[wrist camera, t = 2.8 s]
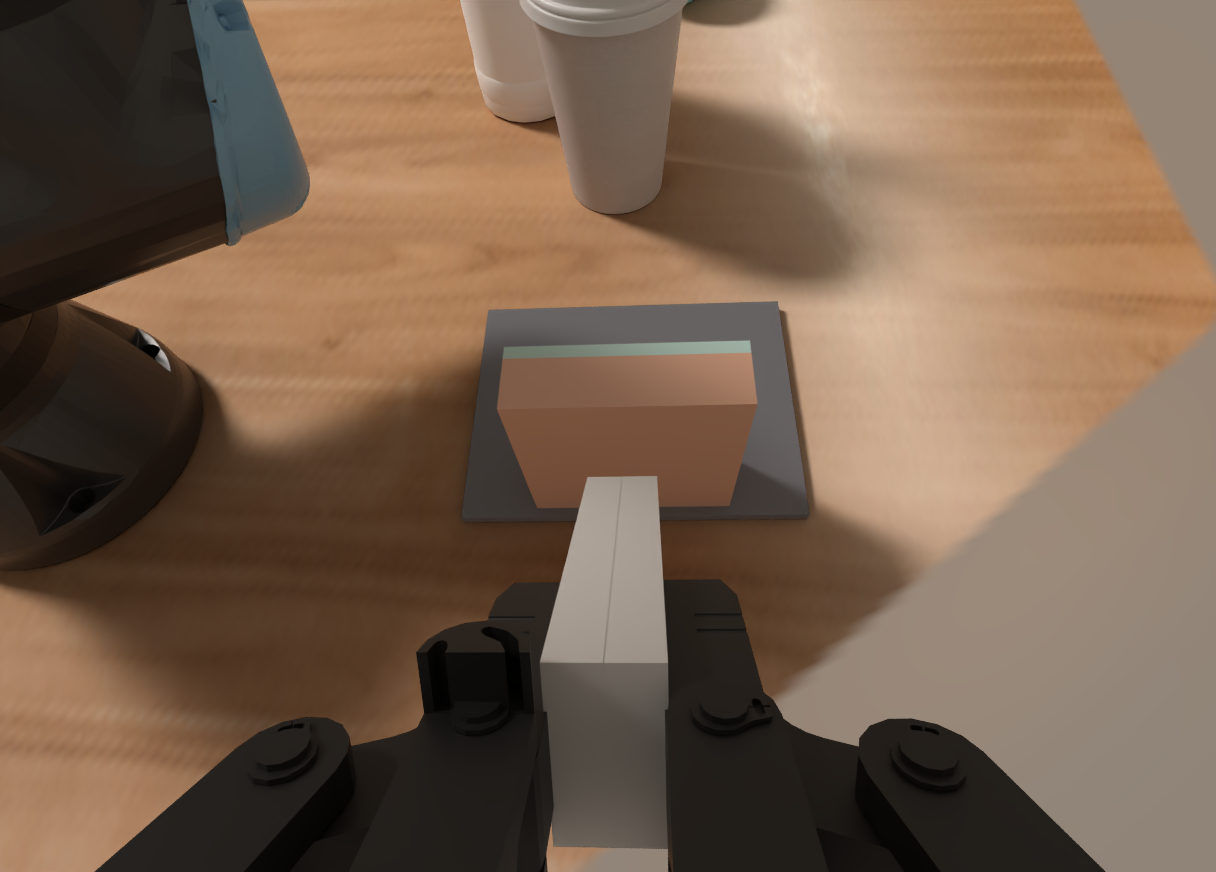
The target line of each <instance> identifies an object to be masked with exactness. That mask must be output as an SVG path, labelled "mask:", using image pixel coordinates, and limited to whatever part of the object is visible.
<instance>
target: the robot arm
mask: <svg viewBox="0 0 1216 872" xmlns="http://www.w3.org/2000/svg"><path fill="white" fill-rule="evenodd" d="M309 187H310V178H309V173H308V170H307V166H306V163H305V161H304V158H303V155H302V153H301V150H300V147H299V145H298V142H297V139H296V137H295V134H294V132H293V129H292V126H291V124H290V121H289V118H288V116H287V113H286V111H285V108H284V105H283V103H282V100H281V98H280V95H279V93H278V90H277V88H276V85H275V82H274V80H273V77H272V75H271V72H270V69H269V67H268V64H267V62H266V59H265V57H264V54H263V52H262V49H261V47H260V44H259V42H258V39H257V37H256V34H255V32H254V29H253V27H252V24H251V22H250V19H249V15H248V13H247V10H246V8H245V5H244V3H243V0H0V569H1V570H26V569H34V568H40V567H45V566H49V565H53V564H57V563H60V562H63V561H66V560H69V559H72V558H74V557H77V556H79V555H82V554H84V553H86V552H88V551H90V550H92V549H94V548H96V547H98V546H100V545H102V544H104V543H105V542H107V541H109V540H111V539H112V538H114V537H115V536H117V535H118V534H120V533H121V532H123V531H124V530H125V529H127V528H128V527H130V526H131V525H132V524H133V523H135V522H136V521H137V520H138V519H140V518H141V517H142V516H143V515H144V514H145V513H146V512H148V511H149V510H150V509H151V508H152V507H153V506H154V505H155V504H156V503H157V502H158V501H159V500H160V498H161V497H162V496H163V495H164V494H165V493H166V492H167V490H168V489H169V488H170V487H171V485H172V484H173V483H174V481H175V480H176V479H177V477H178V476H179V474H180V473H181V471H182V470H183V468H184V466H185V465H186V463H187V461H188V459H189V457H190V455H191V453H192V451H193V448H194V446H195V443H196V441H197V437H198V434H199V430H200V426H201V420H202V397H201V392H200V388H199V385H198V382H197V380H196V378H195V376H194V375H193V373H192V371H191V370H190V369H189V367H188V366H187V365H186V364H185V363H184V362H183V361H182V360H181V359H180V358H179V357H177V356H176V355H175V354H174V353H173V352H172V351H171V350H170V349H169V348H168V347H166V346H165V345H164V344H163V343H162V342H161V341H159V340H158V339H156V338H155V337H153V336H152V335H150V334H149V333H147V332H145V331H143V330H141V329H139V328H137V327H134V326H132V325H129V324H127V323H125V322H122V321H120V320H118V319H115V318H113V317H111V316H108V315H106V314H104V313H101V312H99V311H97V310H94V309H92V308H90V307H87V306H85V305H83V304H80V303H78V302H75V301H73V300H71V299H72V298H75V297H78V296H81V295H83V294H86V293H89V292H92V291H94V290H97V289H100V288H103V287H106V286H108V285H111V284H114V283H117V282H119V281H122V280H125V279H128V278H130V277H133V276H136V275H139V274H141V273H144V272H147V271H150V270H153V269H155V268H158V267H161V266H164V265H166V264H169V263H172V262H175V261H177V260H180V259H183V258H186V257H188V256H191V255H194V254H197V253H200V252H202V251H205V250H208V249H211V248H213V247H216V246H219V245H222V244H224V243H225V244H226V245H228V246H233V245H235V244H237V243H238V242H239V241H240V240H241V237H242V236H244V235H247V234H249V233H251V232H254V231H256V230H259V229H261V228H263V227H266V226H268V225H271V224H273V223H275V222H278V221H280V220H283V219H285V218H287V217H289V216H291V215H293V214H294V213H296V212H297V211H298V210H299V209H300V208H301V207H302V206H303V204H304V202H305V200H306V198H307V196H308V194H309ZM416 655H417V662H418V670H419V677H420V685H421V692H422V700H423V707H424V715H423V717H422V719H421V721H420V723H419V725H418V727H417V728H416V729H413V730H411V731H409V732H406V733H403V734H400V735H397V736H393V737H390V738H385V739H381V740H377V741H372V742H368V743H363V744H359V745H355V746H351V743H350V737H349V735H348V733H347V732H346V730H345V729H344V727H343V725H342V724H340V723H337V722H335V721H333V720H331V719H328V718H316V717H305V718H300V719H295V720H291V721H286V722H282V723H280V724H277V725H275V726H273V727H271V728H268V729H266V730H264V731H261V732H259V733H257V734H256V735H255V736H253V737H252V738H250V739H249V740H247V741H246V742H244V743H243V744H242V745H240V746H239V747H237V748H236V749H235V750H234V751H233V752H231V753H230V754H229V755H228V756H227V757H226V758H225V759H223V760H222V761H221V762H220V763H219V764H218V765H217V766H215V767H214V768H213V769H212V770H211V771H210V772H208V773H207V774H206V775H205V776H204V777H203V778H202V779H200V780H199V781H198V782H197V783H196V784H195V785H194V786H192V787H191V788H190V789H189V790H188V791H187V792H186V793H184V794H183V795H182V796H181V797H180V798H179V799H177V800H176V801H175V802H174V803H173V804H172V805H171V806H169V807H168V808H167V809H166V810H165V811H164V812H163V813H161V814H160V815H159V816H158V817H157V818H156V819H155V820H153V821H152V822H151V823H150V824H149V825H148V826H146V827H145V828H144V829H143V830H142V831H141V832H140V833H138V834H137V835H136V836H135V837H134V838H133V839H132V840H130V841H129V842H128V843H127V844H126V845H125V846H124V847H122V848H121V849H120V850H119V851H118V852H117V853H115V854H114V855H113V856H112V857H111V858H110V859H109V860H107V861H106V862H105V863H104V864H103V865H102V866H101V867H99V868H98V869H97V870H96V871H95V872H547V859H546V851H547V845H548V839H549V833H550V827H551V821H552V835H553V847H600V848H650V849H651V848H652V849H668V872H1105V871H1104V870H1103V869H1102V868H1101V867H1100V866H1099V865H1098V864H1097V863H1096V862H1095V861H1094V860H1093V859H1092V858H1091V857H1090V856H1089V855H1088V854H1087V853H1086V852H1085V851H1084V850H1083V849H1082V848H1081V847H1080V846H1079V845H1078V844H1077V843H1076V842H1075V841H1074V840H1072V838H1071V837H1070V836H1069V835H1068V834H1067V833H1065V832H1064V830H1063V829H1061V828H1060V826H1059V825H1057V824H1056V823H1055V822H1054V821H1053V820H1052V819H1051V818H1050V817H1049V816H1048V815H1047V814H1046V813H1045V812H1044V811H1043V810H1042V809H1041V808H1040V807H1039V806H1038V805H1037V804H1036V803H1035V802H1034V801H1033V800H1032V799H1031V798H1030V797H1029V796H1028V795H1027V794H1026V793H1025V792H1024V791H1023V790H1022V789H1021V788H1020V787H1019V786H1018V785H1017V784H1016V783H1014V781H1013V780H1012V779H1011V778H1010V777H1009V776H1007V774H1006V773H1005V772H1004V771H1003V770H1001V769H1000V768H999V767H998V766H997V765H996V764H995V763H994V762H993V761H992V760H991V759H990V758H989V757H988V756H987V755H986V754H985V753H984V752H983V751H982V750H980V749H979V748H978V747H976V746H975V745H974V744H972V743H971V742H970V741H968V740H967V739H966V738H964V737H963V736H962V735H959V734H957V733H955V732H953V731H951V730H948V729H946V728H944V727H942V726H940V725H938V724H933V723H929V722H925V721H920V720H915V719H887V720H884V721H881V722H879V723H876V724H874V725H870V726H869V727H868V729H867V730H866V731H865V732H864V733H863V734H862V736H861V737H860V738H859V747H858V746H854V745H850V744H846V743H841V742H837V741H833V740H829V739H825V738H822V737H819V736H816V735H813V734H810V733H807V732H805V731H803V730H801V729H799V728H797V727H795V726H793V725H791V724H790V723H789V722H787V721H786V720H784V719H783V716H782V714H781V712H780V710H779V709H778V707H777V705H776V704H775V702H774V700H773V699H771V698H770V697H769V696H767V695H766V694H765V693H764V692H763V688H762V685H761V681H760V677H759V674H758V670H757V666H756V663H755V659H754V655H753V652H752V648H751V645H750V641H749V637H748V634H747V633H746V626H745V623H744V619H743V617H742V612H741V608H740V604H739V601H738V597H737V595H736V594H735V593H734V592H733V591H732V590H731V589H730V588H729V587H728V586H727V585H726V584H724V583H723V582H722V581H721V580H663V570H662V553H661V536H660V519H659V502H658V485H657V476H623V477H587V481H586V485H585V489H584V493H583V496H582V500H581V504H580V508H579V512H578V516H577V520H576V524H575V528H574V531H573V535H572V539H571V543H570V547H569V551H568V555H567V559H566V563H565V566H564V570H563V574H562V578H561V582H560V583H514V584H513V585H512V586H511V587H509V588H508V589H507V590H506V591H505V592H503V593H502V594H501V595H500V596H499V597H497V598H496V600H495V603H494V605H493V607H492V610H491V612H490V614H489V620H487V621H480V622H471V623H464V624H461V625H458V626H455V627H451V628H448V629H445V630H443V631H442V632H440V633H438V634H437V635H435V636H433V637H431V638H430V639H428V640H427V641H426V642H425V643H424V644H423V645H422V647H421V648H420V649H419V650H418V651H417V652H416Z"/></svg>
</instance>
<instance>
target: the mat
mask: <svg viewBox="0 0 1216 872" xmlns="http://www.w3.org/2000/svg"><path fill="white" fill-rule="evenodd" d="M711 341H750V345H751V353H752V362H753V370H754V379H755V387H756V396H757V408H756V411H755V415H754V418H753V422H752V426H751V429H750V433H749V437H748V440H747V444H746V448H745V451H744V455H743V458H742V462H741V466H740V469H739V473H738V477H737V480H736V484H735V488H734V491H733V495H732V498H731V502H730V506H697V507H659V519H660V520H731V519H807V518H808V516H809V507H808V501H807V494H806V487H805V481H804V474H803V467H802V460H801V454H800V447H799V440H798V434H797V427H796V420H795V414H794V407H793V400H792V394H791V387H790V380H789V374H788V367H787V360H786V353H785V347H784V340H783V333H782V327H781V320H780V313H779V307H778V301H775V302H741V303H707V304H673V305H639V306H605V307H572V308H538V309H504V310H488V318H487V325H486V333H485V340H484V348H483V355H482V363H481V370H480V378H479V386H478V393H477V401H476V408H475V416H474V423H473V431H472V439H471V446H470V454H469V461H468V469H467V476H466V484H465V491H464V499H463V507H462V514H461V519H462V520H463V522H530V521H576V520H577V516H578V512H579V508H537V507H536V504H535V502H534V499H533V497H532V494H531V492H530V489H529V487H528V484H527V482H526V480H525V477H524V475H523V472H522V470H521V467H520V465H519V462H518V460H517V457H516V455H515V453H514V450H513V448H512V445H511V443H510V440H509V438H508V435H507V433H506V430H505V428H504V426H503V423H502V421H501V418H500V416H499V413H498V411H497V404H498V395H499V386H500V378H501V369H502V360H503V351H504V347H520V346H558V345H596V344H635V343H673V342H711Z"/></svg>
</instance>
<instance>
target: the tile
mask: <svg viewBox="0 0 1216 872" xmlns="http://www.w3.org/2000/svg"><path fill="white" fill-rule="evenodd" d="M756 408H757V396H756V387H755V379H754V370H753V362H752V353H751V345H750V341H711V342H673V343H635V344H596V345H558V346H520V347H504V351H503V360H502V369H501V378H500V386H499V395H498V404H497V411H498V413H499V416H500V418H501V421H502V423H503V426H504V428H505V430H506V433H507V435H508V438H509V440H510V443H511V445H512V448H513V450H514V453H515V455H516V457H517V460H518V462H519V465H520V467H521V470H522V472H523V475H524V477H525V480H526V482H527V484H528V487H529V489H530V492H531V494H532V497H533V499H534V502H535V504H536V507H537V508H580V504H581V500H582V496H583V493H584V489H585V485H586V481H587V477H623V476H657V485H658V502H659V507H697V506H730V502H731V498H732V495H733V491H734V488H735V484H736V480H737V477H738V473H739V469H740V466H741V462H742V458H743V455H744V451H745V448H746V444H747V440H748V437H749V433H750V429H751V426H752V422H753V418H754V415H755V411H756Z"/></svg>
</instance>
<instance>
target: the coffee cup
mask: <svg viewBox="0 0 1216 872" xmlns="http://www.w3.org/2000/svg"><path fill="white" fill-rule="evenodd" d="M519 2H520V5H521V7H522V9H523V11H524V12H525V13H526V14H527V15H528V17H530V18H531V19H532V21H533V25H534V29H535V33H536V37H537V41H538V46H539V50H540V54H541V58H542V62H543V66H544V70H545V75H546V79H547V83H548V87H549V92H550V96H551V100H552V104H553V108H554V113H555V117H556V121H557V125H558V130H559V134H560V138H561V143H562V147H563V151H564V155H565V160H566V164H567V168H568V172H569V177H570V181H571V185H572V189H573V193H574V195H575V197H576V198H577V200H578V201H579V202H580V203H581V204H583V205H584V206H585V207H587V208H589V209H591V210H593V211H596V212H600V213H605V214H623V213H628V212H632V211H635V210H638V209H640V208H642V207H644V206H646V205H647V204H649V203H650V202H651V201H652V200H653V199H654V198H655V197H656V196H657V194H658V193H659V191H660V188H661V184H662V177H663V168H664V159H665V151H666V142H667V134H668V125H669V117H670V108H671V100H672V91H673V83H674V74H675V66H676V58H677V49H678V41H679V33H680V25H681V17H682V10H683V7H684V6H685V4H686V3H687V2H688V0H519Z"/></svg>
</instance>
